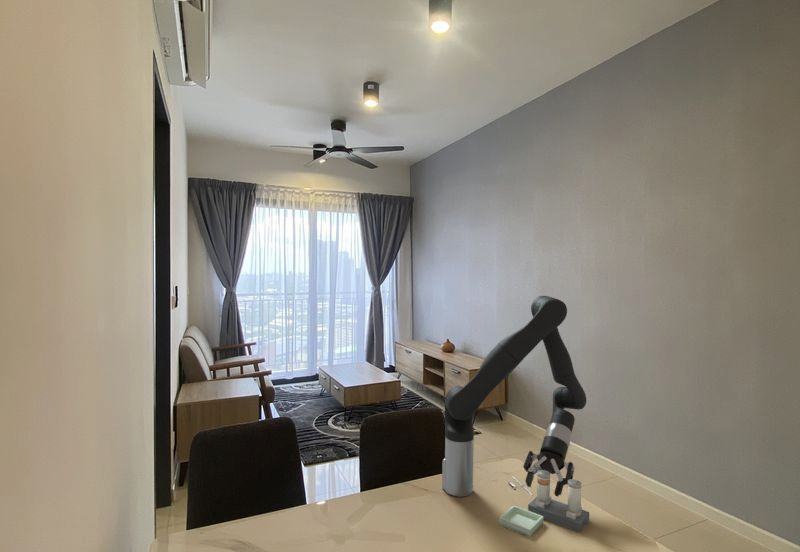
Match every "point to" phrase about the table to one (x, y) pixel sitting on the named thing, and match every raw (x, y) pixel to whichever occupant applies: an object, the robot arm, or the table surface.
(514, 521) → the tray
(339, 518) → the table surface
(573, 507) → the plain fuse
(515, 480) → the picture light
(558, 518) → the fuse holder
